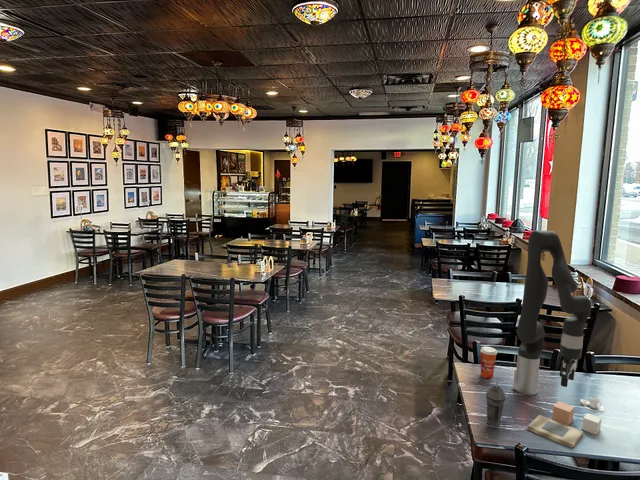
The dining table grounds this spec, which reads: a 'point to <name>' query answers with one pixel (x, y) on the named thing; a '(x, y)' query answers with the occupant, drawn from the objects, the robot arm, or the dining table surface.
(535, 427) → the beige rectangular frame
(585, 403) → the teacup and saucer
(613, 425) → the dining table surface
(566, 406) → the terracotta cube
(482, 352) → the paper cup
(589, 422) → the white cube
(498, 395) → the beverage cup
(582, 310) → the robot arm
